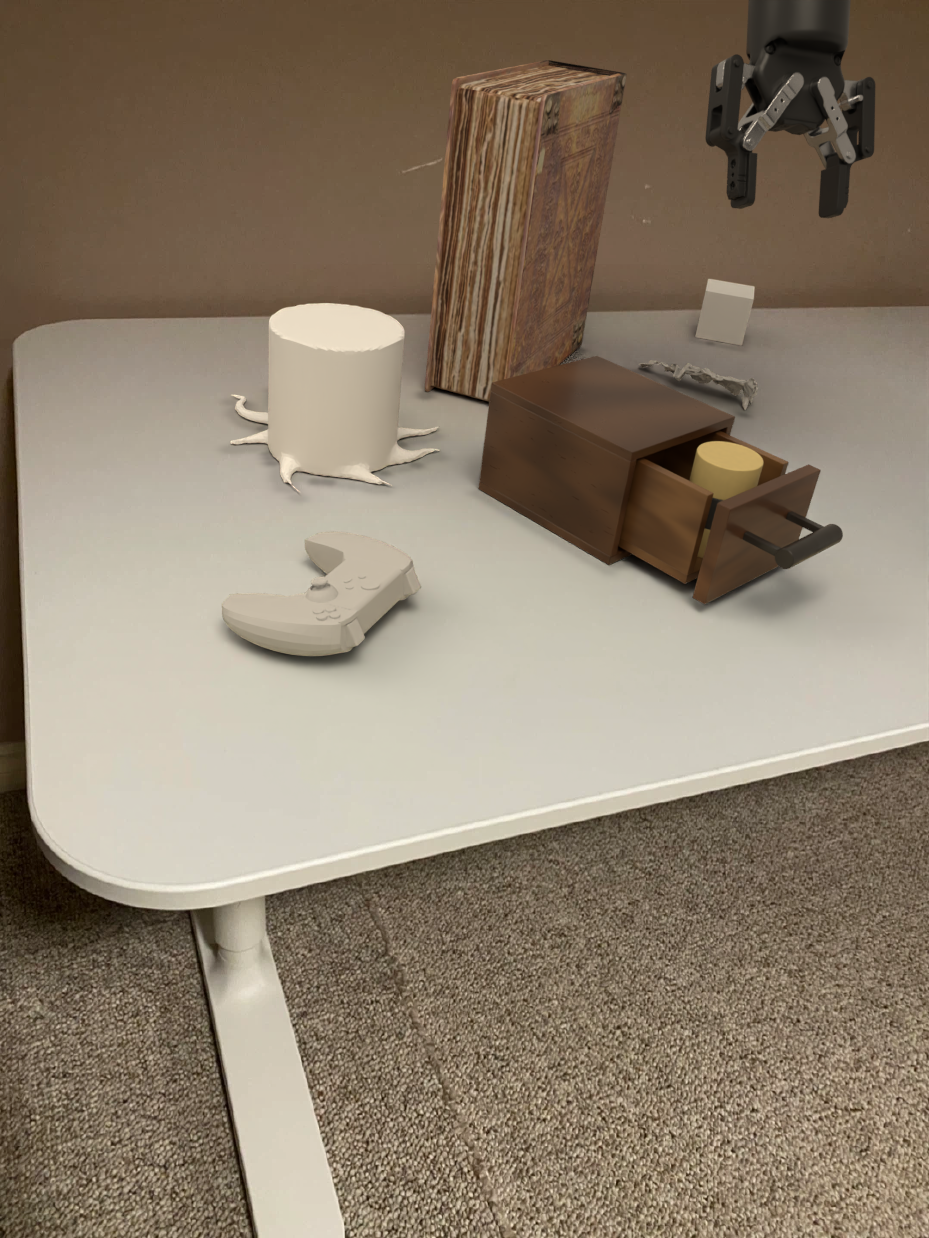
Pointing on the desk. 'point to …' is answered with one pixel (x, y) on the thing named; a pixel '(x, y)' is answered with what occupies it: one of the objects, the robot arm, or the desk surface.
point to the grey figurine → (708, 376)
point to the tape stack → (724, 474)
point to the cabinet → (583, 445)
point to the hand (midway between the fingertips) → (787, 212)
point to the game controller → (327, 598)
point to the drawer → (720, 520)
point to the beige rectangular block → (725, 312)
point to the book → (519, 220)
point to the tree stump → (334, 392)
